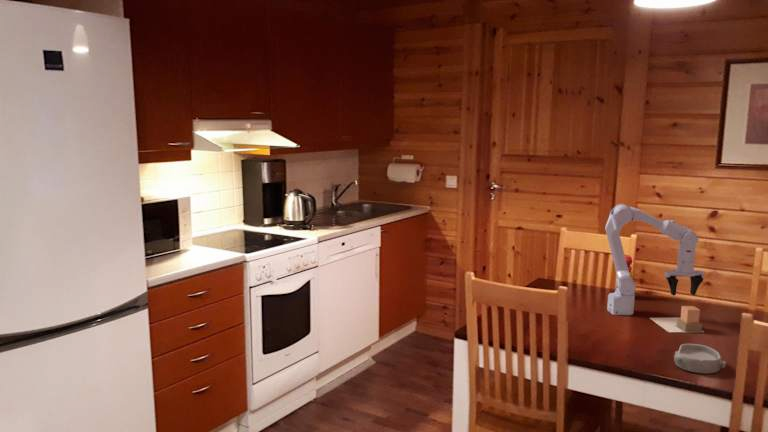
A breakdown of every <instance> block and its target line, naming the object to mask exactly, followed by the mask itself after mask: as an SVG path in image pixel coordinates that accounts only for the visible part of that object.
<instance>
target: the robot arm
mask: <svg viewBox="0 0 768 432" xmlns="http://www.w3.org/2000/svg"><path fill="white" fill-rule="evenodd" d="M609 212H610V213H609V216H608V219H607V221H606V224H605V228H604V230H605V233H606V234H605V235H606V237H607V240H608V244H609V248H610V249H609V250H610V253H611V256H612V260H613V265H614V268H615V273H616V279H615V283H616V285H617V286H618V288H617V286H616V288H617V289H616V288H615V291H614V292H610V293H608V295H607V304H606V306H607V307H606V311H608V312H609V313H610V314H612V316H631V315H634V309H635V296H636V295H635V294H636V289H637V286H636V283H635V282H634V280H633V279H632V277H633V276H632V277H631V276H630V273H629V270H628V266H627V262H626V259H625V255H626V254H625V252H624V247H623V245H622V244H623V243H622V240H621V236H620V231H621V229H622V228H623V227H624V226H625V225H627V224H628V223H630V222H631V221H632V222H639V221H641V222H643V223H645V224H648V225H651V226H652V227H655V228H657V229H659V232H660V233H661V234H662V235H664V236H666V237H669V238H670V239H672V240H675V241H679V245H678V246H679V247H678V252H677V253H678V254H677V263H676V270H675V269H674V270H665V271H664V277H665V278H666V281H667V282H668V285H669V288H670V294H671V295H672V296H676V294H677V286H678V283H679V279H678V278H677V277H683V278H684V277H689V278H690V288H689V289H690V290H689V291H690V294H691V295H692V296H695V295H696V294H697V293H696V292H697V291H698V288H699V287H700V285H701V284H702V282H703V281H704V278H705V276H706V275H705V274H706V272H705V271H704V270H694V268H695V258H696V245H697V244H698V242H699V238H698V235H697V233H696V232H695V231H693V230H692V229H690V228H689V227H687V226H686V225H683V226H682V225H680V224H678V223H676V221H675V220H673V219H671V220H669V219H666V220H661V219H660V218H657V217H656V216H653V215H651V214H649V213H647V212H645V211H643V210H641V209H639V208H637V207H633V206H630V205H629V206H628V205H627V204H625V203H618V204H616V205H615V206H614V207H612V209H611V210H610V211H609Z"/></svg>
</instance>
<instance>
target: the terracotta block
mask: <svg viewBox="0 0 768 432" xmlns="http://www.w3.org/2000/svg"><path fill="white" fill-rule="evenodd" d="M700 315H701V310H700V309H699V308H697V307H696V306H694V305H681V310H680V317H681V320H683V321H684V322H686V323H699V322H700Z"/></svg>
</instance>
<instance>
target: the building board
mask: <svg viewBox="0 0 768 432" xmlns="http://www.w3.org/2000/svg"><path fill="white" fill-rule="evenodd" d="M649 319H650V320H652V321H653V322H655V324H657V325H658V326H659V327H661V328H662V329H664V330H665V331H666V332H667V333H685V334H688V333H705V331H704V330H702V329H703V323H702V322H700V321H699V323H686V322H684V321H683V320H681V316H680V317H677V316H676V317H649Z"/></svg>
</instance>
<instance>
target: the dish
mask: <svg viewBox="0 0 768 432" xmlns="http://www.w3.org/2000/svg"><path fill="white" fill-rule="evenodd" d="M673 359H674V364H675V365H676V366H677V367H679V368H680V369H682V370H685V371H688V372H692V373H696V374H713V373H718V372H719V371H720V370H721V369H724V368H726V366H727V362H726V360H723V359H722V357H721V354H720V353H719V352H718V351H717V350H715V349H714V348H712V347H710V346H708V345H704V344H696V343H683V344H680V346H679V348H678V350H676V351H675V352H674V355H673Z"/></svg>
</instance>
